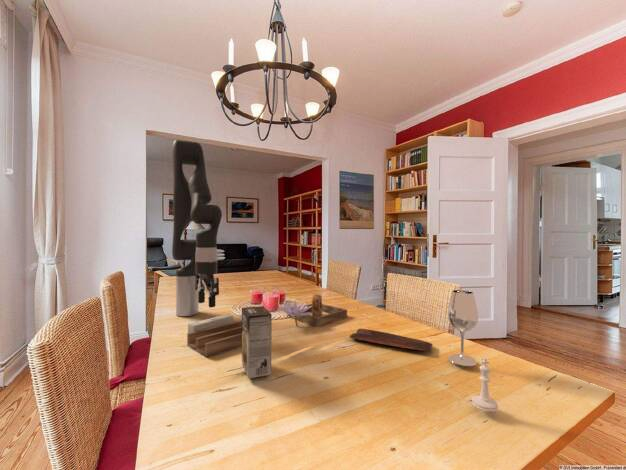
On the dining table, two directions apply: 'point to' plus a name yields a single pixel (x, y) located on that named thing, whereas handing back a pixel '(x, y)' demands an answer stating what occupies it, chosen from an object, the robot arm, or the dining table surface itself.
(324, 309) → the square wooden tray
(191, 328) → the cream rectangular block
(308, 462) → the dining table surface
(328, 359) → the dining table surface
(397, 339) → the wooden tablet
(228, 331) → the rack
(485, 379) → the chess piece
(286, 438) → the dining table surface
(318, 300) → the stone disc
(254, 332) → the coffee box
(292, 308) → the water lily
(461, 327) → the wineglass
